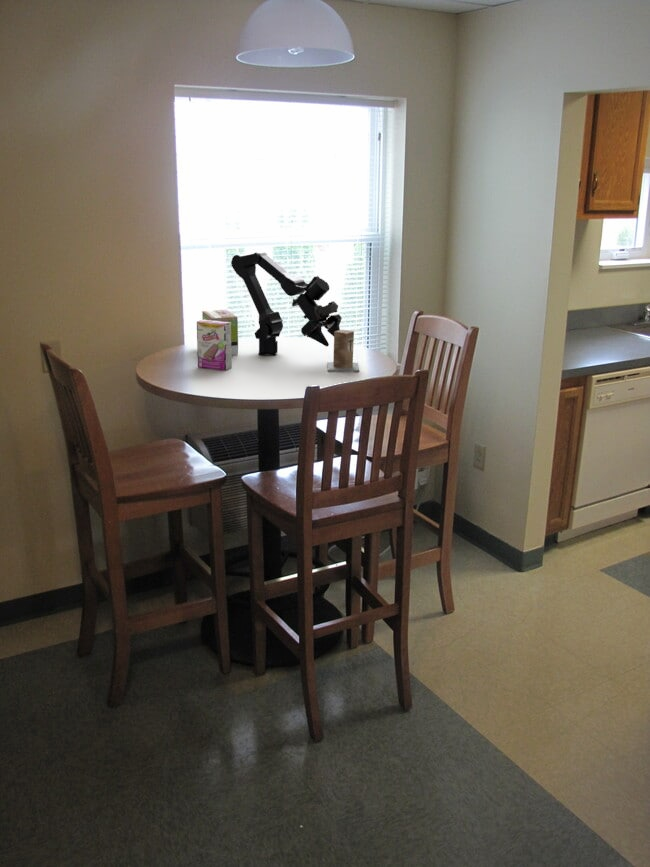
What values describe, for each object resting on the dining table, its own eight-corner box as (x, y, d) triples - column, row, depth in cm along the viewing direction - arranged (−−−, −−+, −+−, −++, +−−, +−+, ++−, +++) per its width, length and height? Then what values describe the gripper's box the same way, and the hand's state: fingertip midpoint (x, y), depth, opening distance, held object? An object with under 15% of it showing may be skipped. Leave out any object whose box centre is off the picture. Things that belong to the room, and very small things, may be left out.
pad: (327, 371, 266) (327, 369, 266) (327, 363, 276) (327, 362, 276) (359, 372, 266) (359, 370, 266) (357, 364, 276) (357, 362, 276)
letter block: (333, 366, 270) (334, 331, 266) (340, 363, 274) (341, 329, 270) (346, 368, 267) (347, 333, 263) (353, 366, 271) (355, 331, 267)
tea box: (202, 348, 295) (201, 310, 290) (227, 346, 298) (227, 308, 294) (213, 357, 282) (212, 317, 277) (239, 355, 286) (238, 316, 281)
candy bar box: (197, 368, 266) (195, 321, 261) (203, 364, 270) (202, 318, 265) (226, 371, 263) (225, 324, 257) (232, 368, 267) (231, 321, 262)
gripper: (309, 297, 260) (334, 334, 258) (338, 291, 275) (363, 325, 273) (289, 317, 266) (315, 353, 265) (319, 310, 281) (343, 344, 279)
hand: (335, 343), depth 270 cm, fingers open, 9 cm apart
